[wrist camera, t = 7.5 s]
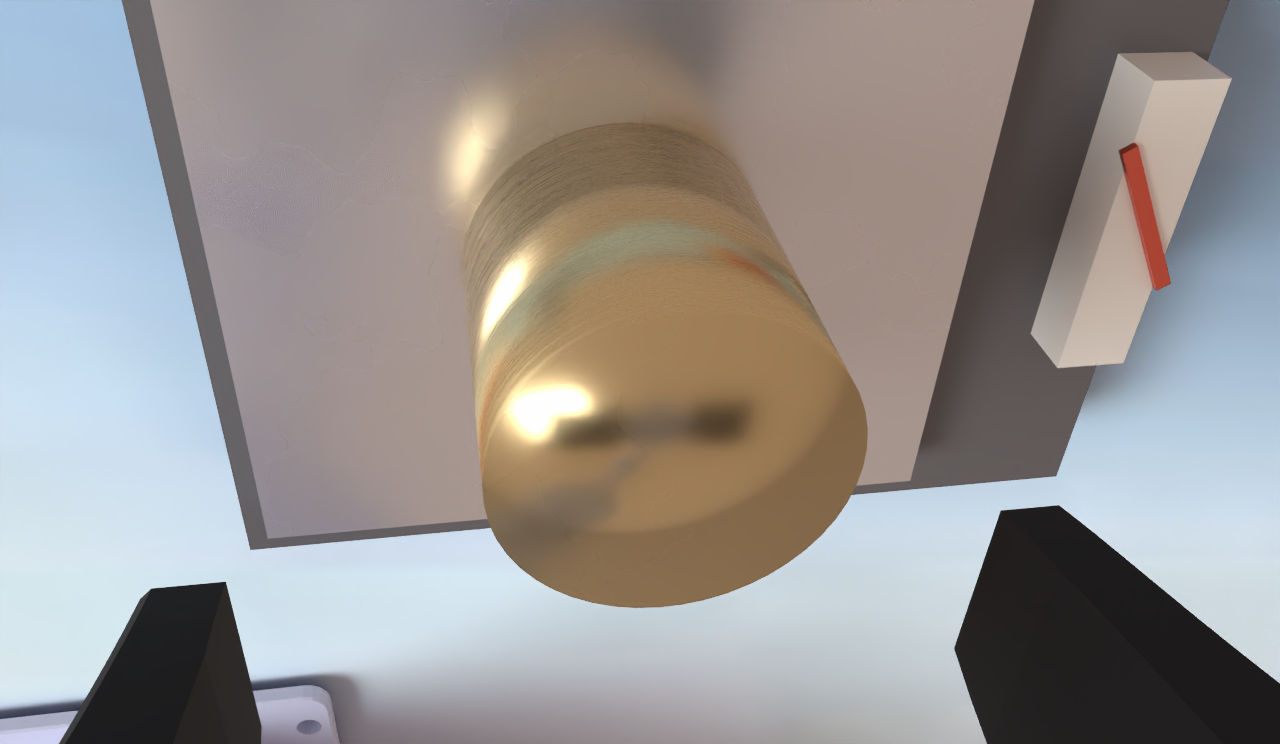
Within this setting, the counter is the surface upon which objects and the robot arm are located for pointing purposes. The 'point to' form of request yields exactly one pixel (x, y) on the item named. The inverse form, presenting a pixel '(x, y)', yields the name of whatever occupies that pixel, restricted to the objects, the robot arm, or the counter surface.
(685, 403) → the cylinder
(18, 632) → the counter surface
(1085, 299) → the scale
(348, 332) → the platform
